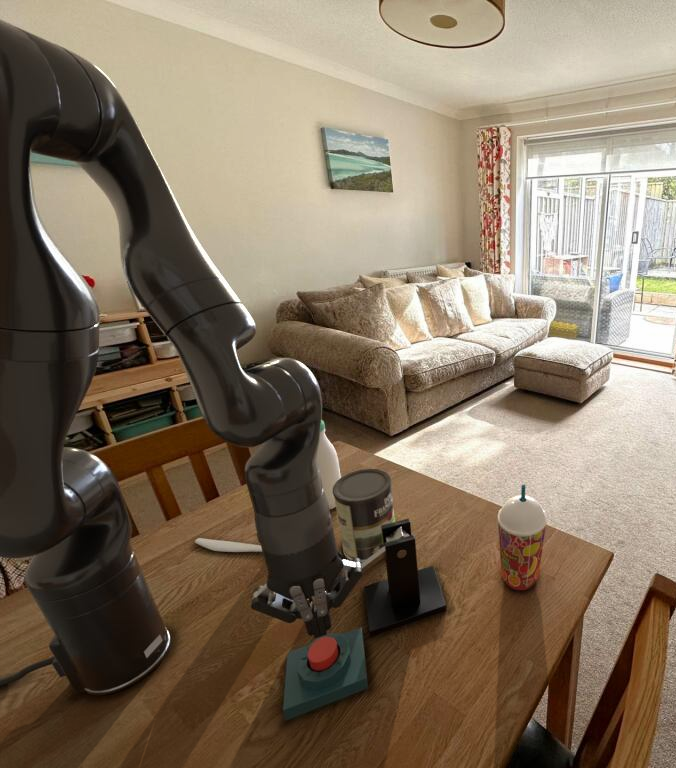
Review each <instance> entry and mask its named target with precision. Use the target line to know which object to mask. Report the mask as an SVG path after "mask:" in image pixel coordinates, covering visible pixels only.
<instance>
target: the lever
mask: <svg viewBox="0 0 676 768" xmlns="http://www.w3.org/2000/svg"><path fill="white" fill-rule="evenodd" d="M407 536H409V534H408V533H407V532H406V531H405V530H404V529H403V528H401V527H400V528H398V529H397V530H396V531H394V532H393V533H392V534H390V535H389V536H388V537H386V541H387V542H388V541H392V540H396V539H400V538H403V537H407ZM385 557H386V551H385V546H384V547H382V548H381V549H380V550H379V551H377V552H376V553H375V554H373V555H372V556H371V557H369V558H368V559H367V560H365V561H364V562H363V563H361V568H362V575H363V574H365V573H366V572H367V571H369V570H370V569H371V568H372V567H374V566H375V565H376V564H378V563H379V562H381V561H382V560H383V559H385ZM341 575H342V574H339V575H338V576H337V578H336V579H335V581H334V582H333V584H332V586H331V587H330V588H329V589H328V590H327V594H328V593H330V592H331V590H332V588H333V587H334V585H335V584H336V582H337V581H338V579H339V578H340V577H341Z"/></svg>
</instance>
